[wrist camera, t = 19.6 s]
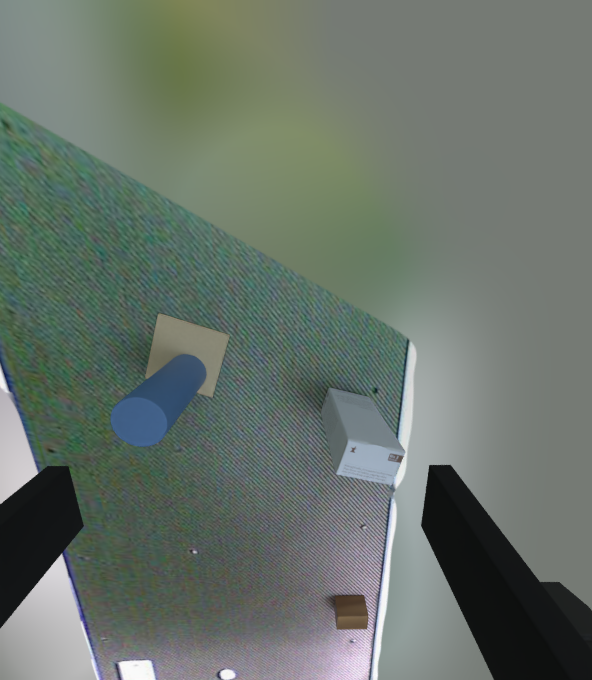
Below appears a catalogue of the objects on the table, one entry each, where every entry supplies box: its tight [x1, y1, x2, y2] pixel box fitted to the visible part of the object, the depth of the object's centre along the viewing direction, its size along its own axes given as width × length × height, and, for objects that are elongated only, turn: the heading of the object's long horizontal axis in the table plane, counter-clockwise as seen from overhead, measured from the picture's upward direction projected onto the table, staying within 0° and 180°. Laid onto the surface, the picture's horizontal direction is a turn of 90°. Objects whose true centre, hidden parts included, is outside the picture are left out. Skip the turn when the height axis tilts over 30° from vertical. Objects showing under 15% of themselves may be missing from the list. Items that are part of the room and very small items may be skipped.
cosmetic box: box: [321, 387, 405, 485], centre depth 33 cm, size 6×4×12 cm
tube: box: [111, 354, 207, 447], centre depth 31 cm, size 12×5×5 cm
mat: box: [145, 313, 230, 397], centre depth 36 cm, size 9×9×1 cm
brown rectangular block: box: [334, 596, 368, 629], centre depth 47 cm, size 3×5×3 cm, turn 90°
